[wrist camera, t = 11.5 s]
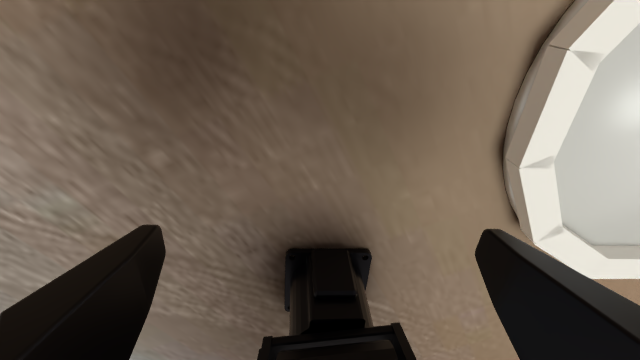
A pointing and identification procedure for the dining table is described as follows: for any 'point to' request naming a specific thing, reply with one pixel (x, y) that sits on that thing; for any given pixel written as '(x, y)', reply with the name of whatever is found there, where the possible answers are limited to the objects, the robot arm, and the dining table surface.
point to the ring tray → (581, 141)
